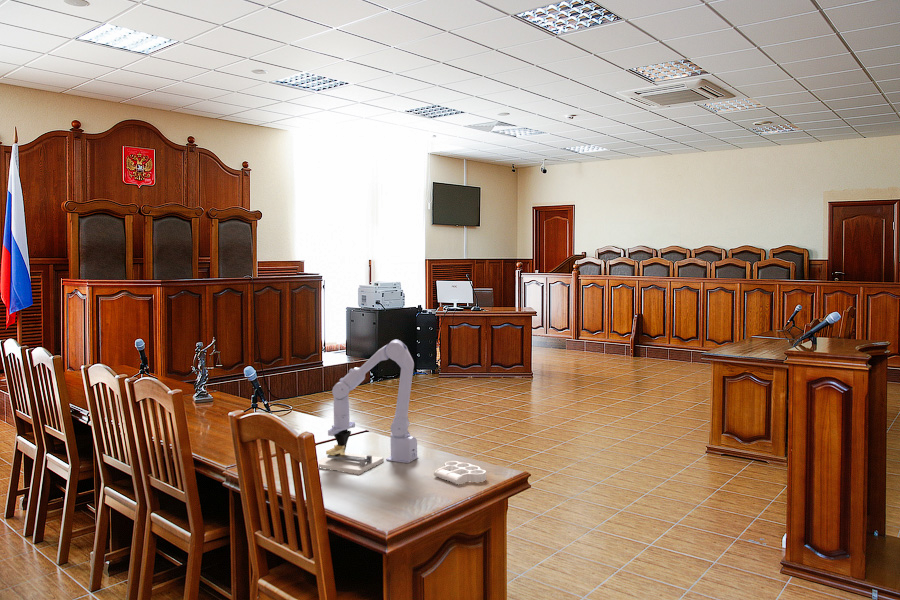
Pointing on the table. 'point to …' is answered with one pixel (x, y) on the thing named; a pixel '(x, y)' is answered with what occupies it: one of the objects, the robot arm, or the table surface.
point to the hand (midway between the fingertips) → (342, 450)
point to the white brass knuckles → (460, 472)
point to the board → (350, 463)
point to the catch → (336, 450)
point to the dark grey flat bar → (348, 457)
